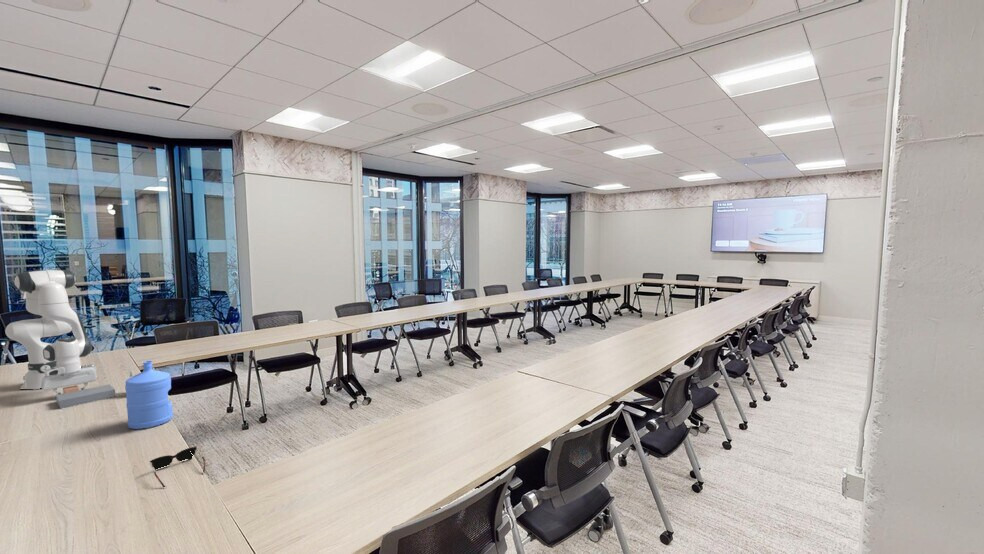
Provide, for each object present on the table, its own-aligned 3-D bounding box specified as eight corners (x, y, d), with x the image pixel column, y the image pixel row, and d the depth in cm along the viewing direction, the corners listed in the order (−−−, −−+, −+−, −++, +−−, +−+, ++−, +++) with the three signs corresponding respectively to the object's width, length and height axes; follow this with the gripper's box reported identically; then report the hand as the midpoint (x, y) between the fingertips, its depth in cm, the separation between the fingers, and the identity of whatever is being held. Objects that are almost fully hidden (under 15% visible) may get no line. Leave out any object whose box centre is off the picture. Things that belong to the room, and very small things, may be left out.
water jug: (147, 431, 171) (143, 368, 169) (118, 428, 174) (114, 365, 172) (181, 416, 186) (178, 358, 184) (154, 413, 190) (151, 356, 188)
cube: (63, 397, 211) (63, 387, 210) (77, 394, 215) (76, 385, 214) (65, 399, 208) (64, 389, 207) (78, 396, 212) (78, 387, 211)
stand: (56, 402, 203) (55, 395, 202) (109, 391, 219) (109, 384, 218) (60, 408, 195) (59, 400, 195) (115, 396, 211) (114, 389, 211)
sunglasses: (197, 457, 151) (196, 445, 150) (209, 476, 140) (208, 463, 140) (149, 473, 140) (149, 460, 140) (159, 494, 130) (158, 480, 129)
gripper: (95, 362, 220) (97, 386, 221) (39, 371, 204) (41, 397, 205) (97, 364, 216) (99, 389, 217) (41, 374, 200) (43, 400, 201)
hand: (71, 393), depth 211 cm, fingers open, 8 cm apart
